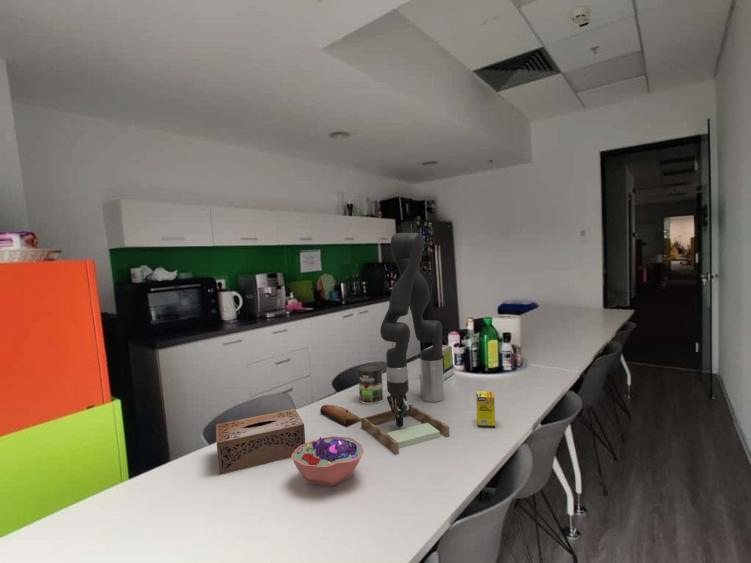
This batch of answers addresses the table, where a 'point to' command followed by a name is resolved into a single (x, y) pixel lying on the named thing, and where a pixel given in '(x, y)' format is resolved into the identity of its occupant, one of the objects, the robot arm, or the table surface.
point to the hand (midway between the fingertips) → (399, 426)
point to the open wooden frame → (380, 418)
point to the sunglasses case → (340, 414)
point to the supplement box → (485, 409)
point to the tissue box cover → (258, 440)
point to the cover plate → (414, 434)
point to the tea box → (447, 361)
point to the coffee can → (370, 384)
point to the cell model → (327, 459)
